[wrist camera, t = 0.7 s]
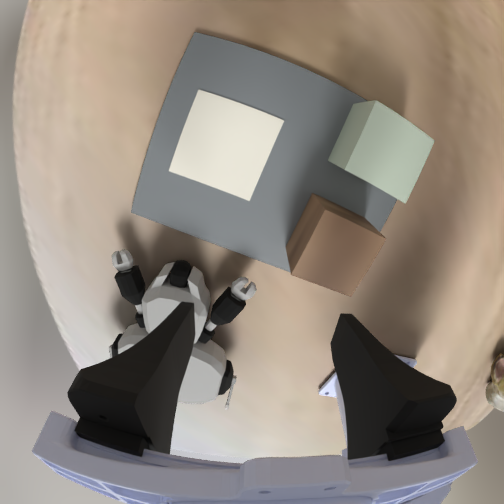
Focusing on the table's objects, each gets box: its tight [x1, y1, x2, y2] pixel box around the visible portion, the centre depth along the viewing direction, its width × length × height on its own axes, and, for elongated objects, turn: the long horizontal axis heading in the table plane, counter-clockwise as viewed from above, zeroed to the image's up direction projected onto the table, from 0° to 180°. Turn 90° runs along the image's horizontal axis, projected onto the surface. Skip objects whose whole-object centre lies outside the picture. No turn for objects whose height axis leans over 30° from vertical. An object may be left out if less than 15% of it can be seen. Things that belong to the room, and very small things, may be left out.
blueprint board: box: [131, 32, 397, 272], centre depth 18 cm, size 18×14×1 cm
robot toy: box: [109, 249, 257, 410], centre depth 23 cm, size 12×4×15 cm
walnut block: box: [286, 193, 386, 296], centre depth 18 cm, size 4×4×4 cm
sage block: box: [328, 100, 434, 203], centre depth 16 cm, size 4×4×4 cm
